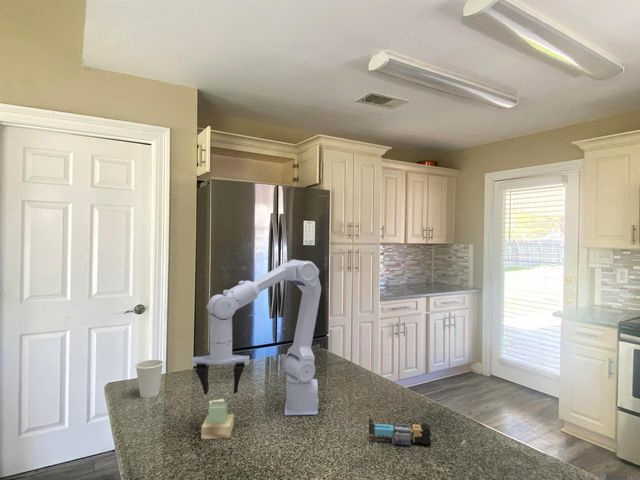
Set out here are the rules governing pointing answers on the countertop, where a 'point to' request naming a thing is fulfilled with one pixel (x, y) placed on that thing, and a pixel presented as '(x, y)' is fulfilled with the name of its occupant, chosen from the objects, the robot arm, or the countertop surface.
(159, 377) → the dixie cup
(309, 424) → the countertop surface
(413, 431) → the toy
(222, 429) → the maple block
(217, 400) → the ivory block
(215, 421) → the sage block
